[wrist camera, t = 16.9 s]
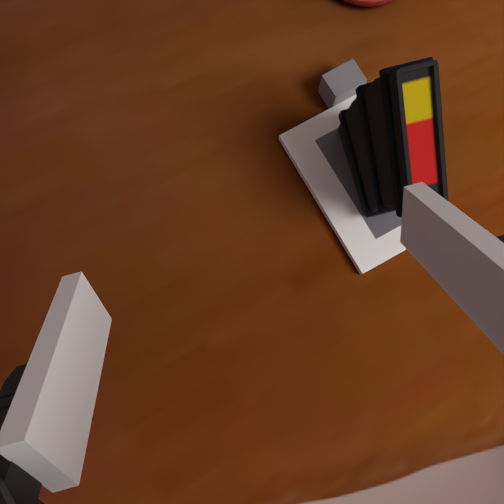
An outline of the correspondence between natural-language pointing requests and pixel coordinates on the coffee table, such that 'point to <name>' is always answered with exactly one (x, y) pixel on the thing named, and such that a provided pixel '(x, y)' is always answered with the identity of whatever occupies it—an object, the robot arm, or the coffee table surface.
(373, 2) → the plant pot
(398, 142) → the magazine
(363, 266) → the charging pad
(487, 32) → the coffee table surface
